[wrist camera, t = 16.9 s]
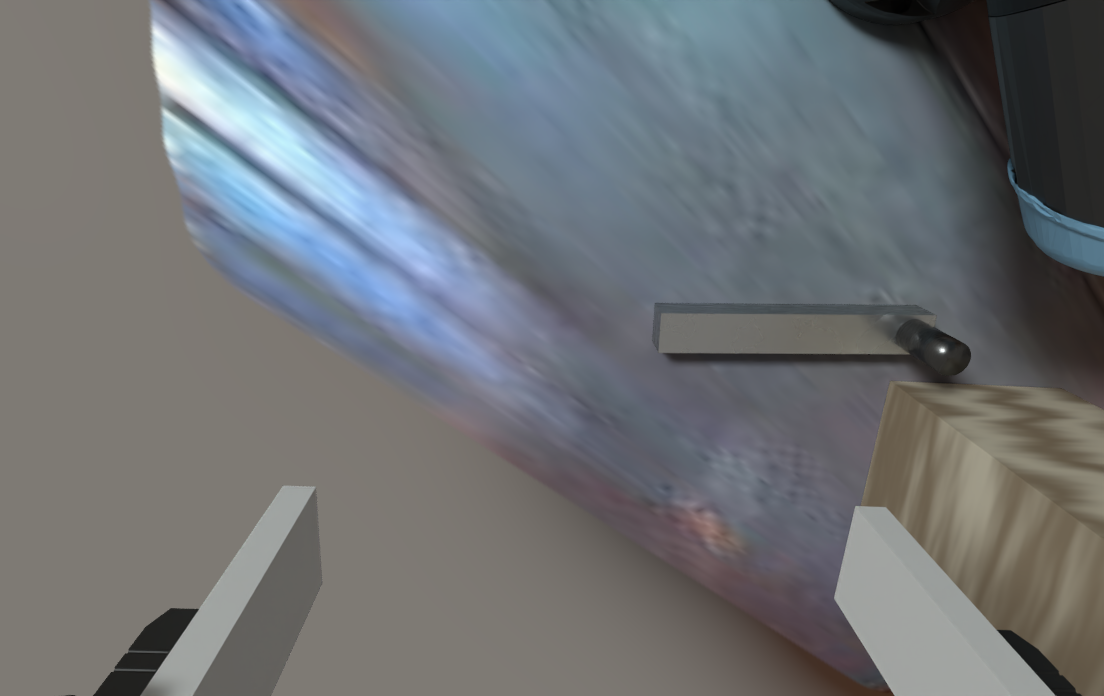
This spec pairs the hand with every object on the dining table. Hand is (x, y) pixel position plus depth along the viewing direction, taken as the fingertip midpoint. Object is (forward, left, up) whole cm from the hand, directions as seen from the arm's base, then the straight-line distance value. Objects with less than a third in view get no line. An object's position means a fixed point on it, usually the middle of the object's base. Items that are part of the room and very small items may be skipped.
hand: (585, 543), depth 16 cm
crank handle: (-11, +15, -35) cm, 40 cm away
